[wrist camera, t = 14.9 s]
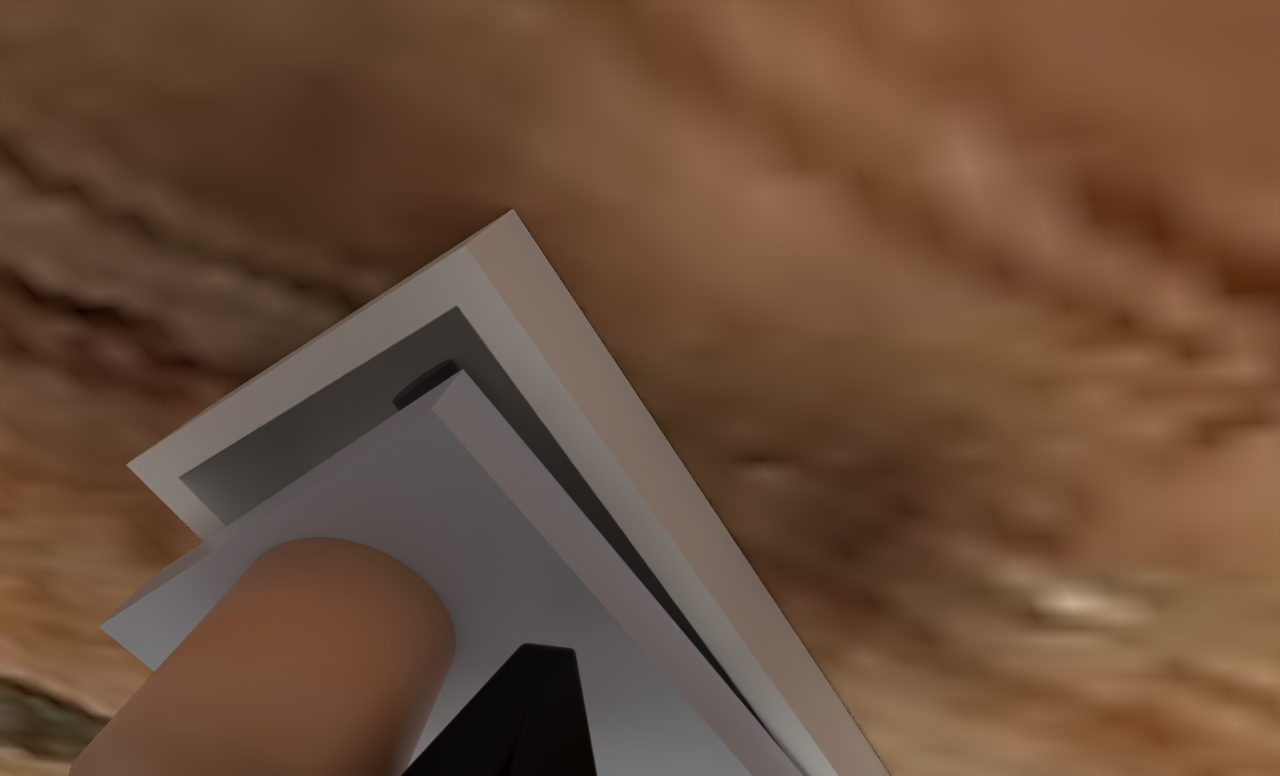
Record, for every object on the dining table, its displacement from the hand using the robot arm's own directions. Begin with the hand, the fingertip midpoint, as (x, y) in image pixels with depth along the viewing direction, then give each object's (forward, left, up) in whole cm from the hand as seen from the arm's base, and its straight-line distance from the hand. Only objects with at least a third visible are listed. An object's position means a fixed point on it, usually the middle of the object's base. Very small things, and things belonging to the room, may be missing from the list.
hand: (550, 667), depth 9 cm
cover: (-6, +2, -2) cm, 6 cm away
